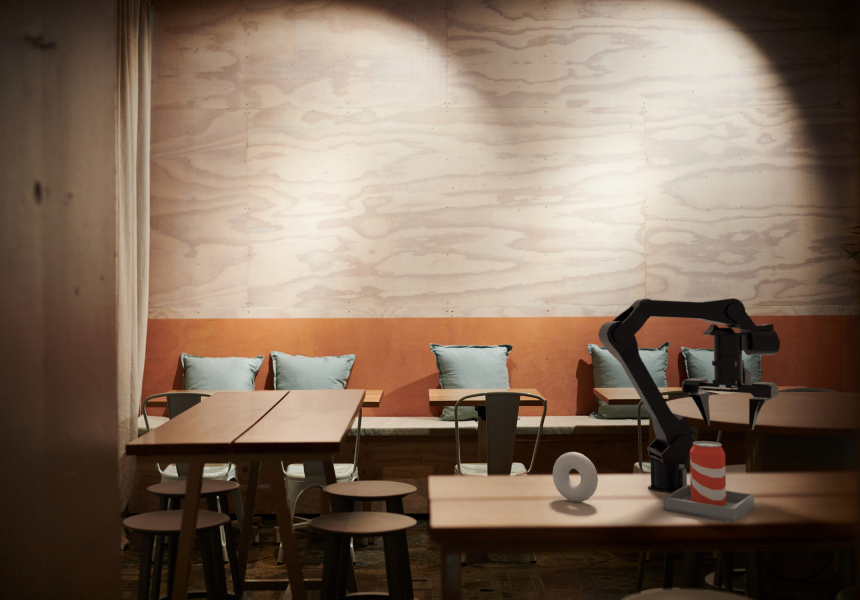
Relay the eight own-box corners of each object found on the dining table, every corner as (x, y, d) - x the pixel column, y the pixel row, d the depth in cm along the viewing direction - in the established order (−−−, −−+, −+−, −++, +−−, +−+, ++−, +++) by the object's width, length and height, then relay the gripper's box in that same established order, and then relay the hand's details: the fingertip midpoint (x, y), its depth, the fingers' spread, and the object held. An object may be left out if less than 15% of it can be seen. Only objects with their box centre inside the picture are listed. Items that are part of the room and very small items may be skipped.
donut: (601, 504, 138) (600, 454, 138) (592, 507, 135) (592, 456, 136) (558, 495, 145) (558, 447, 145) (549, 499, 142) (548, 450, 142)
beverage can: (711, 511, 130) (709, 447, 130) (684, 503, 135) (683, 442, 136) (732, 507, 132) (731, 444, 133) (705, 499, 138) (704, 439, 138)
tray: (663, 510, 133) (663, 497, 133) (687, 496, 143) (687, 484, 143) (734, 523, 125) (733, 509, 125) (754, 507, 134) (754, 494, 135)
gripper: (784, 355, 150) (786, 426, 150) (698, 352, 163) (700, 418, 162) (769, 358, 142) (771, 434, 142) (680, 355, 154) (681, 425, 154)
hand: (729, 427), depth 150 cm, fingers open, 9 cm apart
